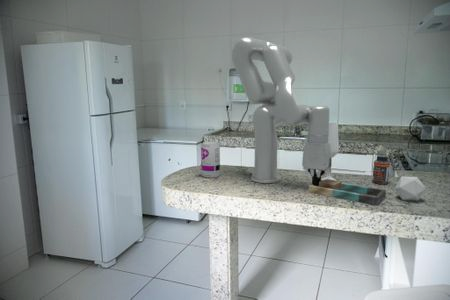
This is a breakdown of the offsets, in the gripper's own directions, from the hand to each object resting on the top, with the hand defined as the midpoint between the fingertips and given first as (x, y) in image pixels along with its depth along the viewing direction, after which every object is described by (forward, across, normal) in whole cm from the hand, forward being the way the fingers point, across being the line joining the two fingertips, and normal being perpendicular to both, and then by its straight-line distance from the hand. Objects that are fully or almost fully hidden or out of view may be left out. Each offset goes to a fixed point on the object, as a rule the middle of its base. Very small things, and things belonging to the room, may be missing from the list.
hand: (316, 186), depth 126 cm
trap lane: (+1, +11, 0) cm, 11 cm away
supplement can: (+1, -46, -9) cm, 46 cm away
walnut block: (+1, +5, 0) cm, 6 cm away
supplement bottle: (+2, +17, +24) cm, 30 cm away
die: (+2, +30, +8) cm, 31 cm away
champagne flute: (+1, -1, +15) cm, 15 cm away
